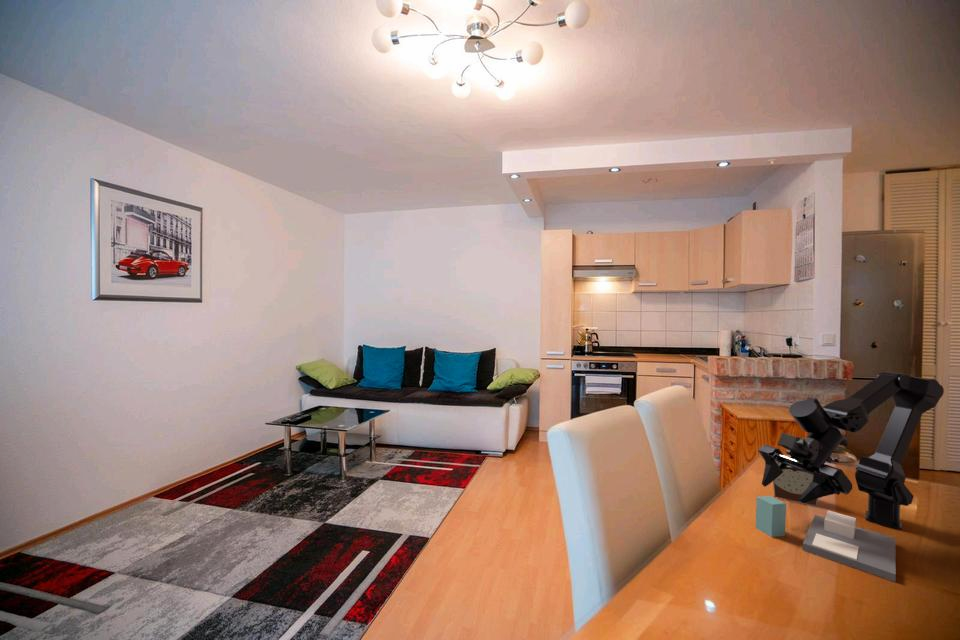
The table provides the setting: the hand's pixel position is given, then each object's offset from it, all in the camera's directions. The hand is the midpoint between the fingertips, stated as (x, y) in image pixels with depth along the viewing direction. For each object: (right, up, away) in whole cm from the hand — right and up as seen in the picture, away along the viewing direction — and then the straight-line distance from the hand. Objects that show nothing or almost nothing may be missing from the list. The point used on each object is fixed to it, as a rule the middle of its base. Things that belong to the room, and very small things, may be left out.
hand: (781, 493), depth 95 cm
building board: (+10, -9, -6) cm, 15 cm away
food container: (+18, -10, +19) cm, 28 cm away
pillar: (-3, -9, -1) cm, 9 cm away
